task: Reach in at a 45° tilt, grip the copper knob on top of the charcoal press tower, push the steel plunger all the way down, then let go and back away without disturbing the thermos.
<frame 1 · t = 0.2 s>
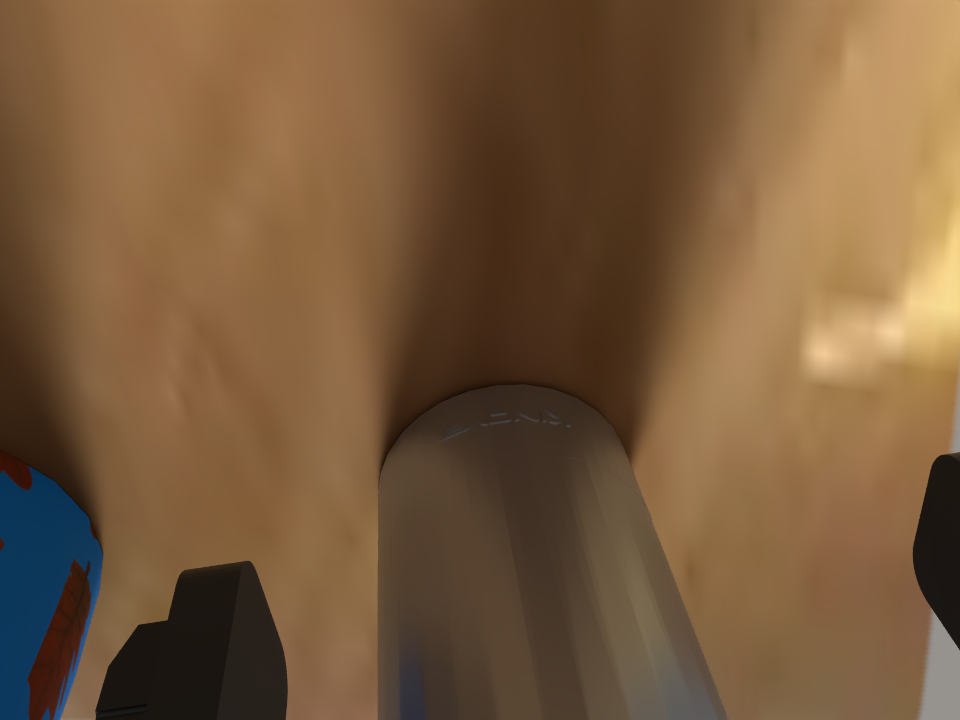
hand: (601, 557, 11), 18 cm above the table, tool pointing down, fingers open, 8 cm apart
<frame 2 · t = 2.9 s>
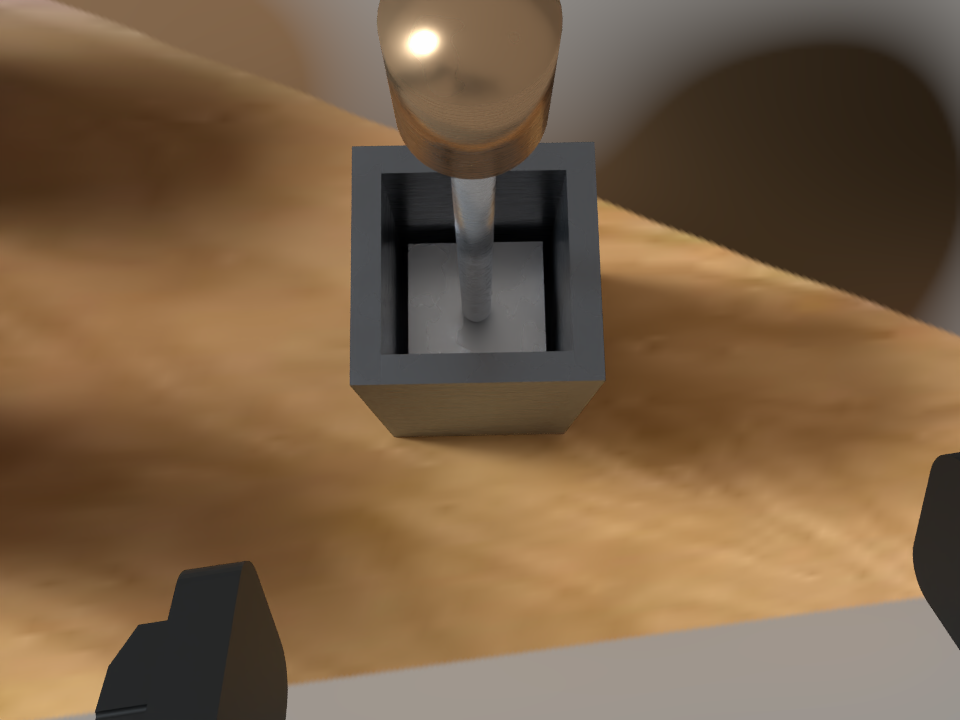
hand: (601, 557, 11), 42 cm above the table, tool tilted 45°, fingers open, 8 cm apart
press tower: (477, 352, 54), on the table
plunger: (474, 223, 32), point 22 cm above the table, slide at 8.0 cm
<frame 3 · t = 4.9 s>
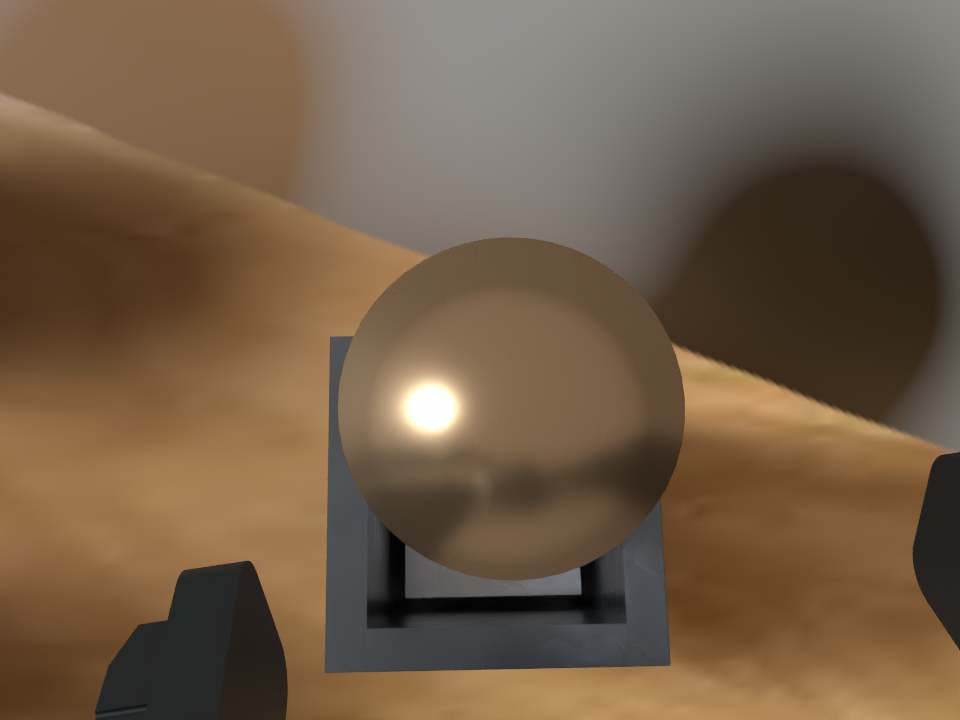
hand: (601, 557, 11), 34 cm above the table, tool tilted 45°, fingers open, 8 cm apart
press tower: (489, 517, 45), on the table
plunger: (495, 484, 23), point 22 cm above the table, slide at 8.0 cm
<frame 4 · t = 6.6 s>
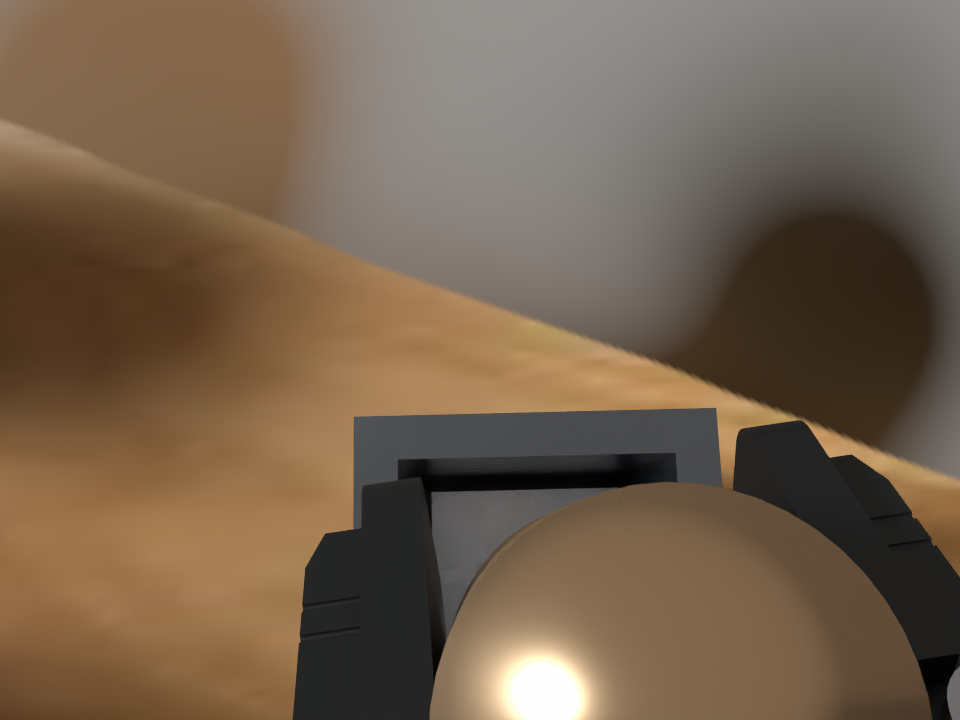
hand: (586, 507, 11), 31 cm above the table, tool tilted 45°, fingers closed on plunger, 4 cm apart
press tower: (516, 574, 41), on the table
plunger: (554, 611, 20), point 22 cm above the table, slide at 8.0 cm, touching gripper
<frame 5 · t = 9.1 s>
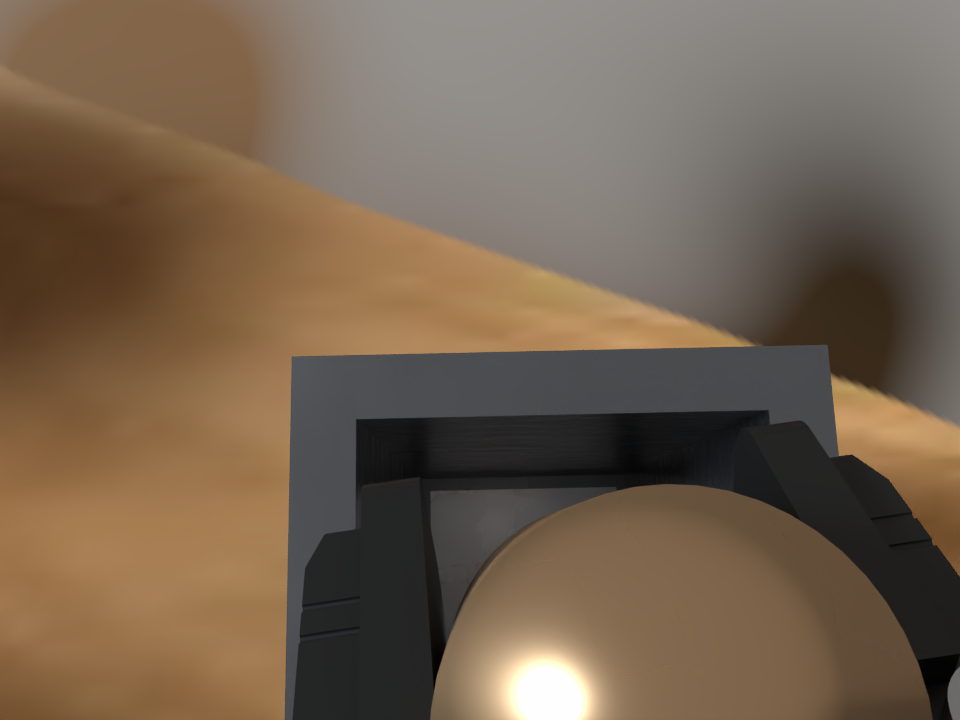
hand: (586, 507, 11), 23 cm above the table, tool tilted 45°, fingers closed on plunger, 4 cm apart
press tower: (523, 581, 33), on the table
plunger: (553, 611, 20), point 14 cm above the table, slide at -0.2 cm, touching gripper
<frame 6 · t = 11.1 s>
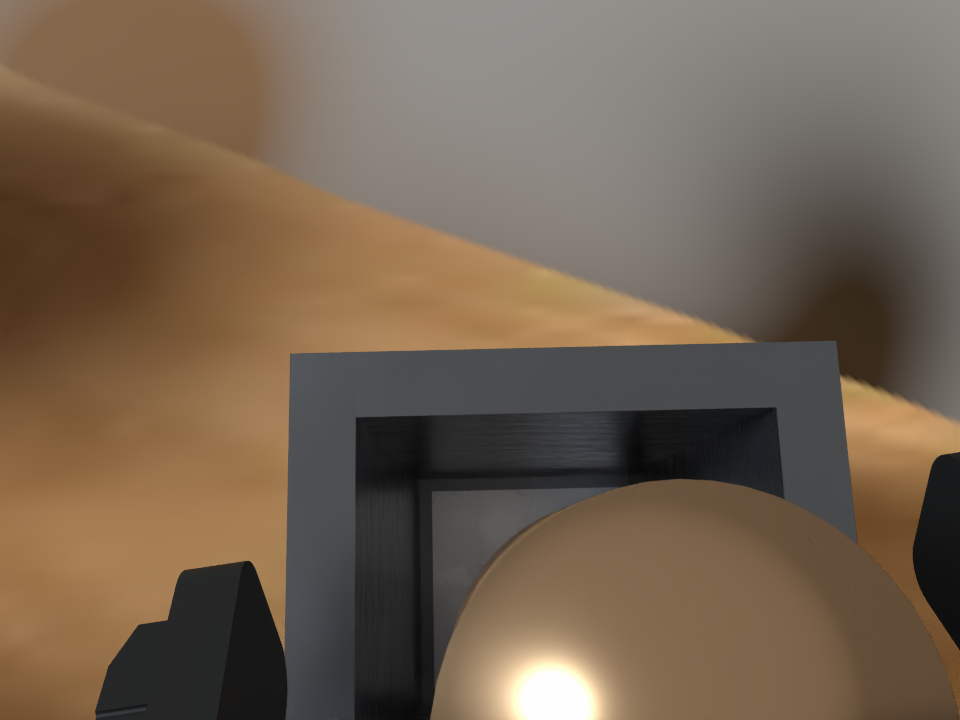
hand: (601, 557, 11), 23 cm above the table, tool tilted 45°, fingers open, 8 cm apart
press tower: (526, 583, 33), on the table
plunger: (557, 613, 19), point 14 cm above the table, slide at -0.1 cm
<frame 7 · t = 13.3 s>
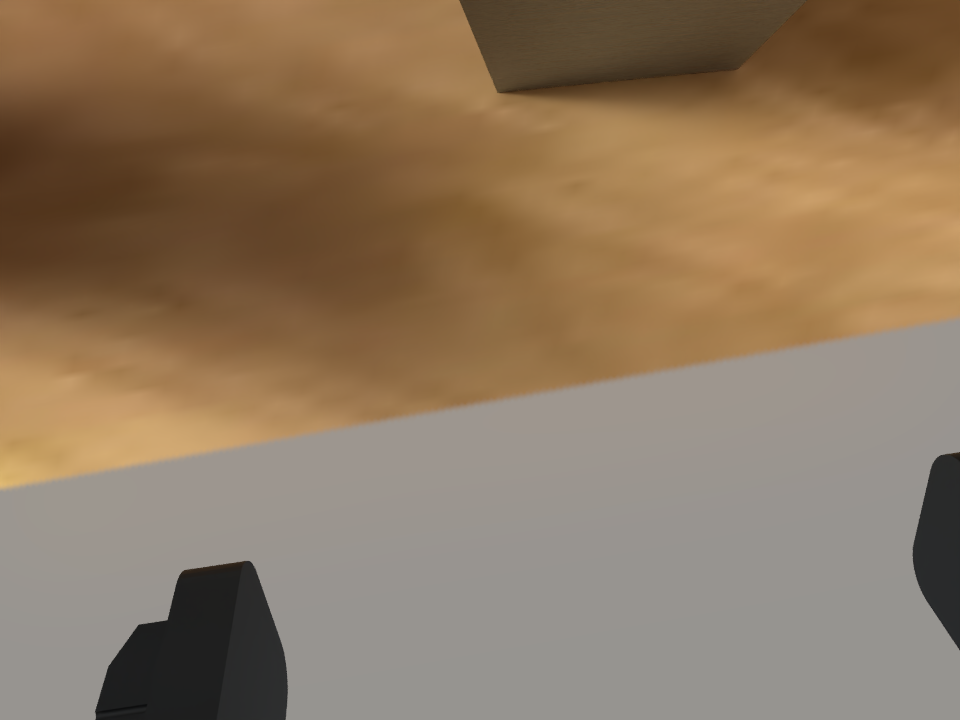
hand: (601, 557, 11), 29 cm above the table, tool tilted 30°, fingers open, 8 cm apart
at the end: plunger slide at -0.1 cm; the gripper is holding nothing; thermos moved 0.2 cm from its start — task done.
